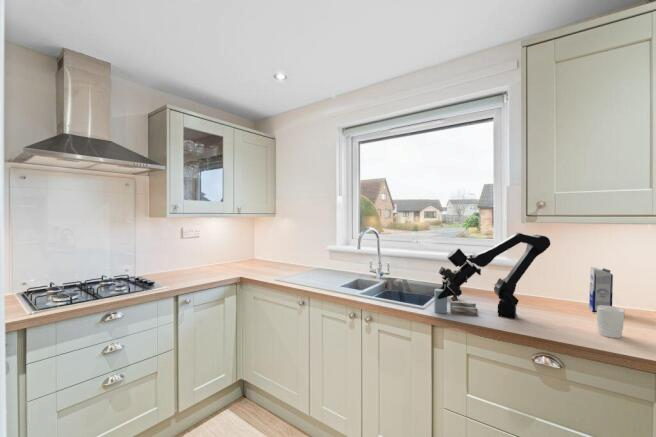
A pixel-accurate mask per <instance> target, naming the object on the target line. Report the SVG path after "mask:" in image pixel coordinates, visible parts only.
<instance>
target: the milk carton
mask: <svg viewBox="0 0 656 437" xmlns="http://www.w3.org/2000/svg"><path fill="white" fill-rule="evenodd" d="M589 268H590V270H589V271H590V272H589V306H588V309H589V308H590V309H591V310H592V311H591V310H590V309H589V310H590V311H591V312H592V313H593V312H597V306H599V305H605V306H612V307H613V294H614V293H613V289H614V287H613V286H614V274H612V273H611V270H610V269H607V268H605V267H603V268H602V269H600V268H597V267H592V266H590V267H589Z"/></svg>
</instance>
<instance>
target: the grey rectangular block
mask: <svg viewBox="0 0 656 437" xmlns="http://www.w3.org/2000/svg"><path fill="white" fill-rule="evenodd" d="M443 290H444V289H440V288H434V291H433V292H434V301H433V302H434V304H433V305H434V306H433V308H434V309H433V310H434V313H438V314H439V313H440V314H447V313H448V297H445V298H442V299H438V298H437V297H438V296H439V294H440V293H441V292H442V291H443Z"/></svg>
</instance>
